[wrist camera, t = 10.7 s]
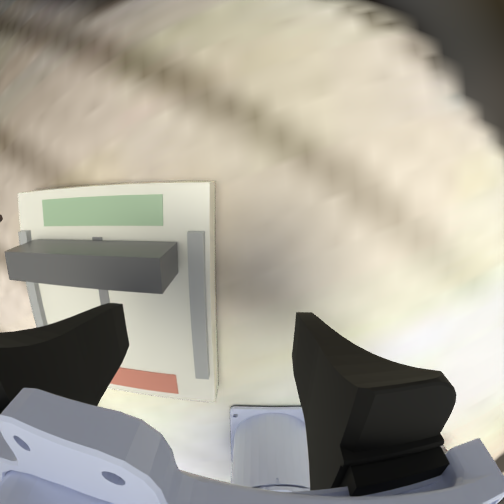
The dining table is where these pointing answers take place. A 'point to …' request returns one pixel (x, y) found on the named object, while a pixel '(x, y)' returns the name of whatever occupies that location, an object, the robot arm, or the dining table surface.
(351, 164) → the dining table surface
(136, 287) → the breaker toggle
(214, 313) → the panel
